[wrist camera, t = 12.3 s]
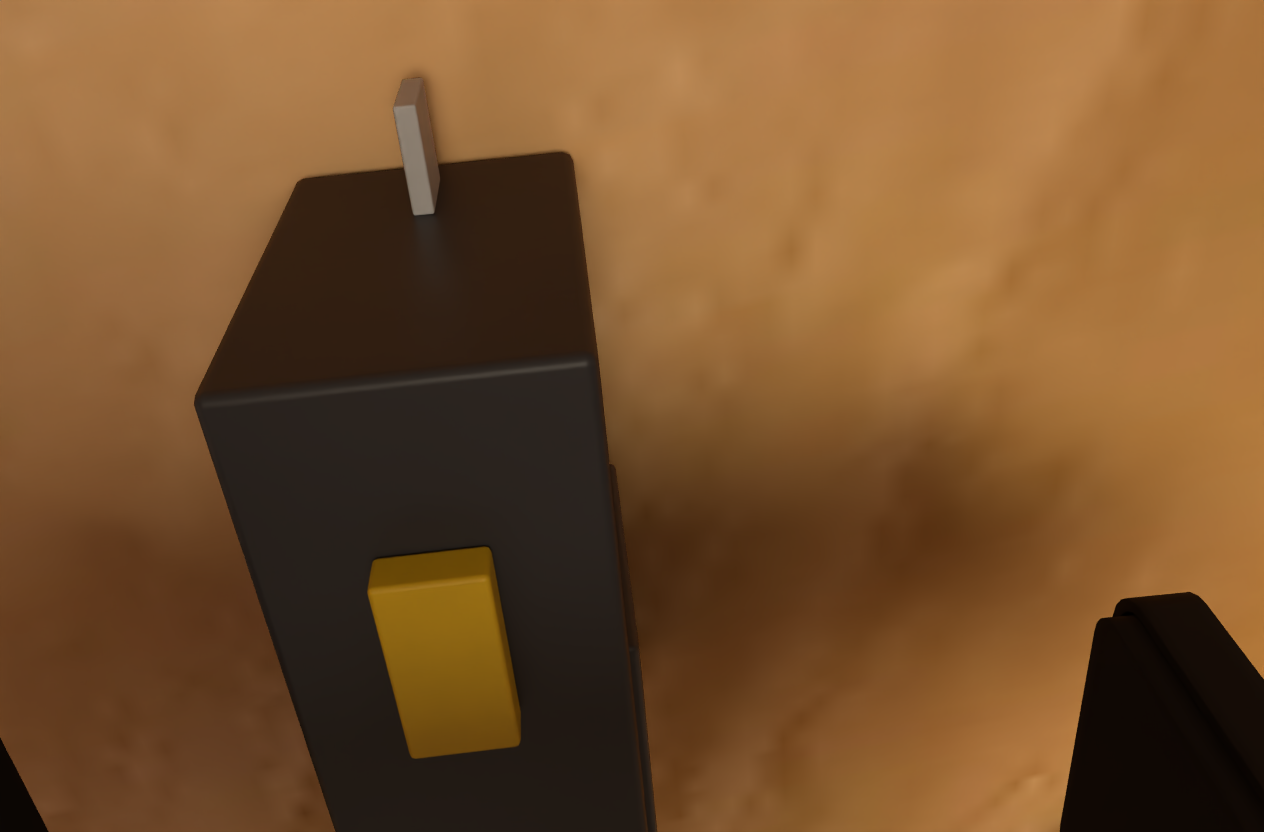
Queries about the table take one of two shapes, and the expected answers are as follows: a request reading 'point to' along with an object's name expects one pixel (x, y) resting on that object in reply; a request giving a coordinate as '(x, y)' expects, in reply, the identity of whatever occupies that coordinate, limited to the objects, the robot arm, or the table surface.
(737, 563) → the table surface
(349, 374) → the box with yellow tab
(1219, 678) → the robot arm
